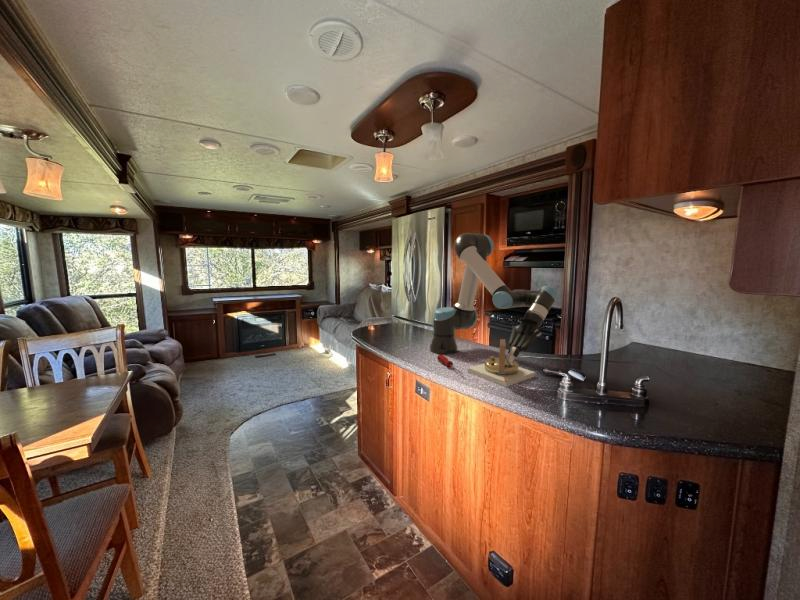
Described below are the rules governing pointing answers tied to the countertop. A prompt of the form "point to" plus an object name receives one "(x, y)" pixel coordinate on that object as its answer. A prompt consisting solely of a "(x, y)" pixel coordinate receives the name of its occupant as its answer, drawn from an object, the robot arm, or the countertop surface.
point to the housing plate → (502, 379)
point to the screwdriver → (446, 362)
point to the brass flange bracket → (501, 363)
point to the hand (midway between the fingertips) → (508, 361)
